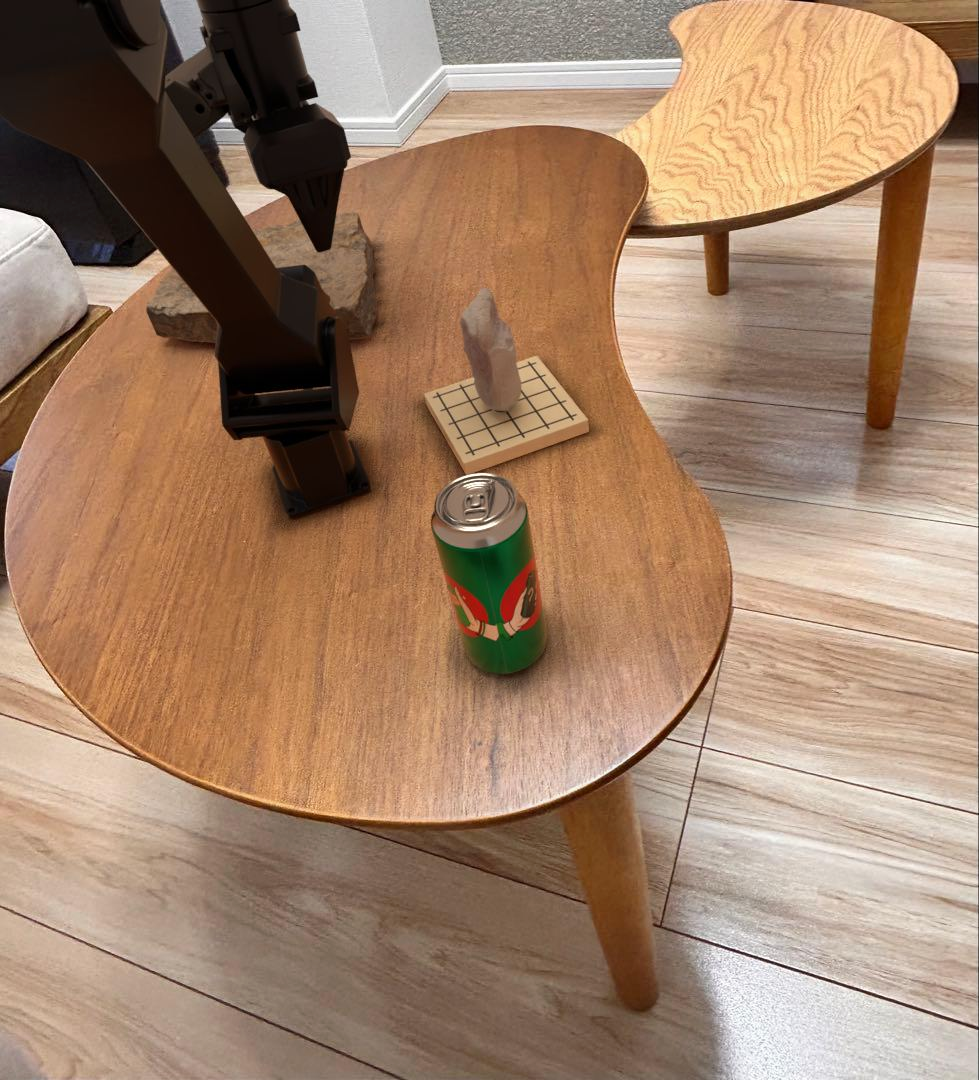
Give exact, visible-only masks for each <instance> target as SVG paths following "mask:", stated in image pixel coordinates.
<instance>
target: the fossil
mask: <svg viewBox="0 0 979 1080" xmlns="http://www.w3.org/2000/svg"><path fill="white" fill-rule="evenodd" d="M498 311H499V310H498V307H497V303H496V301H495V296H494V293H493V291H492V290H491V289H490V288H488V287H487V286H486V287H485V286H484V287H482V288H480V289H479V291H478V292H477V295H476V297H475V298H474V299H473V300H472V301H471V302H470V303H469V305H467V307H466V309H465V310H464V311H463V312H462V315H461V316H460V321H459V325H460V328H461V331H462V332H461V334H462V341H463V351H464V353H465V355H466V357H467V360H468V362H469V363H468V364H469V365H470V367H471V369H472V370H471V371H472V377H474V379H475V380H474V384H475V388H476V391H477V393H478V395H479V397H480V398H481V400H482V401H483V402H484V403H485V404H486V405H487V406H488V407H490V408H491V409H492V410H497V411H509V410H510V409H511V408H512V407H513V406H514V405H515V404H516V403H517V402H518V400H519V398H520V395H521V379H520V376H519V371H518V367H517V364H516V362H517V355H516V345H515V338H514V336H513V332H512V331H511V328H510V326H509V325H508V324H507V323H506V322H505V321H504V320H503V317H501V316H499V313H498Z"/></svg>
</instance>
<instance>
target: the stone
mask: <svg viewBox="0 0 979 1080" xmlns="http://www.w3.org/2000/svg"><path fill="white" fill-rule="evenodd" d="M362 224H363V223H362V220H361V217H360V215H359V213H358V212H356V211H350V212H348V211H345V212H344V211H343V212H342V213H339V214H336V219H335V226H334V233H333V239H332V246H331V249H330V250H327V251H324V252H320V253H319V252H317V251H316V250H315V248H314V246H313V244H312V242H311V240H310V238H309V236H308V234H307V232H306V231H305V229H304V227H303V225H302V223H301V221H300V219H297V220H294V221H293V222H291V223H289V224H285V225H284V224H273V225H270V226H267V227H266V226H265V228H262V229H254V230H252V231H253V232H254V234H255V235H256V237H257V239H258V240H259V242H260V243H261V245H262V246H263V248H264V250H265V251H266V253H267V254H268V256H269V258H270V259H271V261H272V262H273V264H274V265H275V267H276V268H280V267H288V266H297V265H306V266H308V267H309V268H310V269H311V270H313V271H314V272H315V274H316V276H317V279H318V281H319V283H320V285H321V287H322V289H323V290H324V292H325V293H326V294H327V295H329V296H330V303H329V304H330V305H331V306H332V308H333V309H334V311H335V313H336V315H337V317H341V318H342V319H343V321H344V322H345V325H346V328H347V331H348V335H349V340H362V339H363V340H364V339H370V338H371V337H372V336H373V327H374V325H375V323H376V317H377V315H378V313H379V307H378V303H377V300H378V299H377V296H376V285H375V280H374V278H373V277H374V274H375V273H376V263H375V258H374V251H375V246H374V244H373V243H372V241H371V239H370V237H369V236H368V234H367V233H366V231H365V229H364V227H363V225H362ZM145 308H146V309H145V311H146V314H147V317H148V318H149V321H150V323H151V325H152V327H153V330H154V333H155V334H156V336H158V337H161V338H165V339H167V338H171V339H172V338H173V339H178V340H182V341H188V342H191V343H192V342H199V343H204V342H205V343H213V344H216V334H217V322H216V320H215V319H214V318H213V317H212V315H211V314H210V313H209V312H208V310H207V309H206V308H205V307H204V306H203V304H202V303H201V302H200V301H199V299H198V298H197V297H196V296H195V294H194V293H193V292H192V291H191V290H190V288H189V287H188V286H187V285H186V283H185V282H184V281H183V280H182V279H181V277H180V276H179V275H178V274H177V272H176V271H175V270H174V269H173V268H172V267H171V268H170V270H169V271H168V272H167V273H166V274H165V275H164V276H163V278H162V279H161V281H160V283H159V284H158V285H157V288H156V290H155V295H153V296H151V297H150V298H149V299H148V301H147V304H146V307H145Z"/></svg>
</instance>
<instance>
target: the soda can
mask: <svg viewBox="0 0 979 1080" xmlns="http://www.w3.org/2000/svg"><path fill="white" fill-rule="evenodd" d="M433 505H434V506H433V512H432V513H431V517H430V518H431V519H430V528H431V531H432V536H433V539H434V544H435V547H436V551H437V553H438V558H439V561H440V565H441V569H442V572H443V576H444V580H445V584H446V587H447V591H448V595H449V598H450V602H451V605H452V609H453V613H454V617H455V620H456V624H457V628H458V632H459V635H460V639H461V642H462V646H463V650H464V653H465V655H466V657H467V658H468V660H469V661H470V662H471V664H472V665H474V666H475V667H477V668H478V669H479V670H482V671H484V672H487V673H492V674H499V675H504V674H505V675H507V674H513V673H516V672H519V671H522V670H524V669H526V668H528V667H530V666H531V665H533V663H536V661H537V660H538V659H539V658H540V657H541V655H542V654H543V653H544V651H545V649H546V646H547V642H548V630H547V625H546V618H545V617H546V616H545V611H544V606H543V599H542V593H541V587H540V586H541V585H540V580H539V573H538V567H537V560H536V555H535V548H534V541H533V535H532V529H531V521H530V517H529V510H528V509H529V508H528V506H527V503H526V501H525V498H524V497H523V496H522V495H521V494H520V493H519V492H518V490H517V489H516V487H515V485H514V484H513V483H512V482H511V481H510V480H509V479H508V478H506V477H503V476H502V475H499V474H495V473H490V472H475V473H472V474H469V475H466V474H465V475H463V476H460V477H458V478H455V479H453V480H452V481H450V482H449V483H447V484H446V485H445V486H444V487H442V489H441V490H440V491H439V492H438V494H437V496H436V497H435V500H434V504H433Z"/></svg>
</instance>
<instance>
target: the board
mask: <svg viewBox="0 0 979 1080" xmlns="http://www.w3.org/2000/svg"><path fill="white" fill-rule="evenodd" d="M516 364H517V367H518V371H519V376H520V379H521V395H520V398H519V400H518V402H517V403H516V404H515V405H514V406H513V407H512V408H511V409H510V410H509V411H497V410H492V409H491V408H490V407H488V406H487V405H486V404H485V403H484V402H483V401H482V400H481V398H480V397H479V395H478V393H477V391H476V388H475V384H474V380H475V379H474V377H473V376H472V377H469V378H466V379H463V380H460V381H458V382H455V383H452V384H448V385H445V386H443V387H440V388H436V389H434V390H431V391H427V392H425V393H424V394H423V396H424V400H425V405H426V407H427V409H428V411H429V412H430V414H431V416H432V418H433V419H434V421H435V423H436V425H437V427H438V428H439V430H440V432H441V434H442V435H443V437H444V439H445V440H446V443H447V444H448V446H449V447H450V449H451V451H452V453H453V455H454V456H455V458H456V460H457V462H458V463H459V465H460V467H461V469H462V471H463V472H464V474H465V476H466V475H469V474H475V473H479V472H480V471H483V470H486V469H488V468H491V467H495V466H497V465H500V464H503V463H506V462H508V461H511V460H514V459H517V458H520V457H522V456H525V455H528V454H532V453H533V452H536V451H539V450H542V449H545V448H548V447H550V446H554V445H556V444H559V443H561V442H564V441H567V440H569V439H573V438H577V437H579V436H582V435H585V434H587V433H589V432H590V427H589V419H588V417H587V416H586V415H585V414H584V412H583V411H582V410H581V409H580V408H579V406H578V405H577V404H576V402H575V401H574V400H573V398H572V397H571V396H570V395H569V394H568V392H567V391H566V390H565V389H564V387H563V386H562V385H561V384H560V382H559V381H558V380H557V378H555V376H554V375H553V374H552V372H551V371H550V370H549V368H547V366H546V365H545V364H544V362H543V361H542V360H541V358H540V357H539V356H538V355H534V356H531V357H528V358H526V359H522V360H519V361H516Z"/></svg>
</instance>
